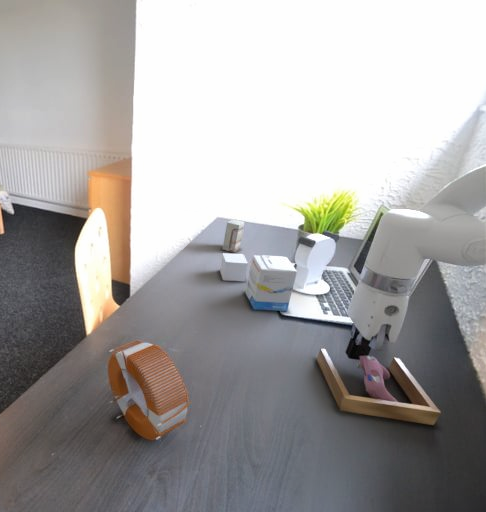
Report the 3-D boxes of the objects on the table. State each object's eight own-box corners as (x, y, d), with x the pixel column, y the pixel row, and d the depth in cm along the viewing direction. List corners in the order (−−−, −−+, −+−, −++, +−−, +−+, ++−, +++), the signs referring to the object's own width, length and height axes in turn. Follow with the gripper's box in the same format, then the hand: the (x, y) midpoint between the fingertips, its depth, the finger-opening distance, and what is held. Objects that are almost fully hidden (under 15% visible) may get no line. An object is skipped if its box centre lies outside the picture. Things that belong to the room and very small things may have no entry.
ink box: (288, 311, 92) (298, 270, 87) (252, 309, 94) (261, 269, 89) (277, 294, 100) (286, 255, 95) (244, 292, 101) (252, 254, 96)
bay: (394, 369, 74) (399, 358, 72) (434, 425, 62) (441, 412, 61) (316, 359, 77) (320, 348, 76) (340, 410, 65) (345, 398, 64)
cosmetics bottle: (234, 253, 124) (239, 225, 119) (221, 249, 127) (226, 222, 122) (240, 248, 127) (245, 221, 123) (228, 245, 130) (232, 218, 126)
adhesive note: (244, 281, 107) (248, 263, 104) (222, 280, 108) (225, 262, 105) (240, 271, 112) (243, 254, 109) (219, 270, 113) (222, 253, 110)
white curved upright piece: (303, 271, 111) (315, 225, 105) (340, 288, 102) (356, 238, 96) (274, 280, 107) (285, 232, 100) (310, 298, 98) (325, 247, 91)
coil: (132, 386, 71) (135, 323, 65) (187, 446, 60) (197, 376, 53) (102, 400, 68) (102, 336, 62) (154, 466, 57) (160, 395, 50)
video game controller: (361, 377, 74) (352, 348, 73) (390, 376, 71) (381, 346, 70) (370, 414, 66) (359, 382, 65) (402, 414, 63) (392, 381, 62)
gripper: (435, 302, 59) (394, 387, 67) (390, 262, 72) (361, 337, 80) (381, 297, 61) (348, 380, 69) (347, 258, 74) (322, 332, 82)
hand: (355, 356), depth 74 cm, fingers closed
